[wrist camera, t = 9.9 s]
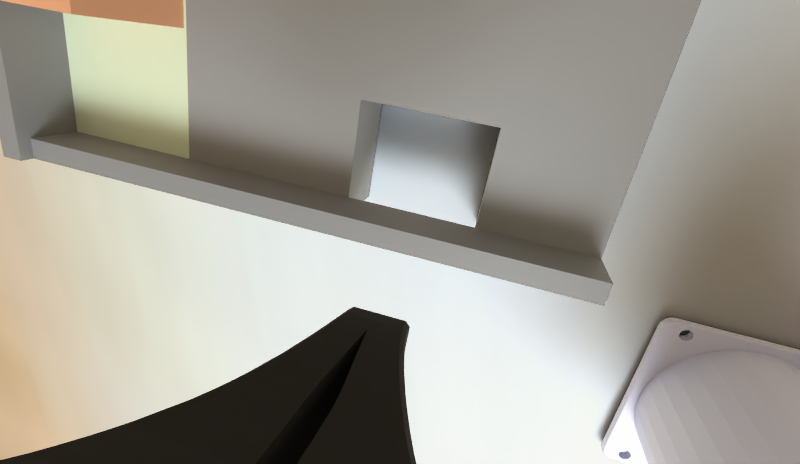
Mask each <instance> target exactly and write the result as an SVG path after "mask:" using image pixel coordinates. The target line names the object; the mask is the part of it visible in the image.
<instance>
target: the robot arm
mask: <svg viewBox="0 0 800 464" xmlns="http://www.w3.org/2000/svg"><path fill="white" fill-rule="evenodd" d="M409 328H410V327H409V326H408V324H407V322H406V321H403V320H399V319H396V318H392V317H388V316H385V315H381V314H378V313H374V312H371V311H367V310H364V309H360V308H356V307H353V308H351V309H349V310H347V311H346V312H344V313H343V314H342V315H340V316H339V317H337V318H336V319H334V320H333V321H331V322H330V323H329V324H327V325H326V326H324V327H323V328H321V329H320V330H318V331H317V332H315V333H314V334H312V335H311V336H309V337H308V338H306V339H304V340H303V341H301V342H300V343H298V344H296V345H295V346H293V347H292V348H290V349H289V350H287V351H285V352H284V353H282V354H280V355H278V356H277V357H275V358H273V359H271V360H270V361H268V362H266V363H264V364H262V365H261V366H259V367H257V368H255V369H254V370H252V371H250V372H248V373H246V374H244V375H242V376H240V377H238V378H236V379H234V380H232V381H230V382H228V383H226V384H224V385H222V386H220V387H218V388H216V389H214V390H211V391H209V392H207V393H205V394H202V395H200V396H198V397H196V398H193V399H191V400H188V401H186V402H183V403H181V404H178V405H175V406H173V407H170V408H167V409H165V410H162V411H159V412H157V413H154V414H152V415H149V416H146V417H144V418H141V419H138V420H136V421H133V422H130V423H127V424H124V425H121V426H118V427H115V428H112V429H109V430H106V431H103V432H100V433H97V434H94V435H90V436H87V437H84V438H80V439H77V440H74V441H70V442H67V443H64V444H60V445H57V446H53V447H50V448H46V449H43V450H39V451H35V452H32V453H28V454H24V455H20V456H16V457H12V458H8V459H4V460H0V464H416V461H415V456H414V451H413V446H412V441H411V435H410V429H409V421H408V414H407V406H406V396H405V380H404V351H405V347H406V342H407V337H408V332H409ZM684 330H690V332H689V333H688V334H687V335H684V336H681V335H679V334H680V333H681V332H682V331H684ZM601 447H602V451H603V453H604V454H605V455H606V456H607V457H609V458H612V459H615V460H618V461H621V462H624V463H628V464H800V350H799V349H795V348H791V347H787V346H783V345H779V344H775V343H772V342H768V341H764V340H760V339H756V338H752V337H748V336H744V335H740V334H736V333H733V332H729V331H725V330H721V329H717V328H713V327H709V326H705V325H701V324H697V323H694V322H690V321H686V320H682V319H678V318H671V317H670V318H665V319H664V320H662V321H661V322H660V323H659V324H658V326H657V328H656V331H655V333H654V335H653V337H652V339H651V341H650V343H649V345H648V347H647V349H646V351H645V354H644V356H643V358H642V360H641V362H640V364H639V366H638V368H637V370H636V372H635V374H634V376H633V379H632V381H631V383H630V385H629V387H628V389H627V391H626V393H625V395H624V397H623V399H622V401H621V404H620V406H619V408H618V410H617V412H616V414H615V416H614V418H613V420H612V422H611V424H610V427H609V429H608V431H607V433H606V435H605V437H604V439H603V441H602V444H601ZM621 451H627V452H621Z"/></svg>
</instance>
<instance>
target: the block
mask: <svg viewBox="0 0 800 464" xmlns="http://www.w3.org/2000/svg"><path fill="white" fill-rule="evenodd" d="M0 1H6V2H11V3H16V4H21V5H26V6H31V7H37V8H42V9H47V10H52V11H57V12H62V13H68V14H74V15H82V16H90V17H98V18H106V19H113V20H121V21H129V22H137V23H145V24H153V25H161V26H169V27H177V28H184V5H183V0H0Z"/></svg>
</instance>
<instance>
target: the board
mask: <svg viewBox="0 0 800 464" xmlns="http://www.w3.org/2000/svg"><path fill="white" fill-rule="evenodd" d="M700 2H701V0H183V5H184V28H177V27H169V26H161V25H153V24H145V23H137V22H129V21H121V20H113V19H106V18H98V17H90V16H82V15H74V14H68V13H62V12H57V11H52V10H47V9H42V8H37V7H31V6H26V5H21V4H16V3H11V2H6V1H0V138H1V143H2V149H3V154H4V156H5V157H9V158H12V159H16V160H20V161H22V160H27V159H33V158H35V159H38V160H42V161H46V162H50V163H54V164H58V165H62V166H66V167H69V168H73V169H77V170H81V171H85V172H89V173H93V174H97V175H100V176H104V177H108V178H112V179H116V180H120V181H124V182H128V183H131V184H135V185H139V186H143V187H147V188H151V189H155V190H158V191H162V192H166V193H170V194H174V195H178V196H182V197H186V198H189V199H193V200H197V201H201V202H205V203H209V204H213V205H217V206H220V207H224V208H228V209H232V210H236V211H240V212H244V213H247V214H251V215H255V216H259V217H263V218H267V219H271V220H275V221H278V222H282V223H286V224H290V225H294V226H298V227H302V228H306V229H309V230H313V231H317V232H321V233H325V234H329V235H333V236H337V237H340V238H344V239H348V240H352V241H356V242H360V243H364V244H367V245H371V246H375V247H379V248H383V249H387V250H391V251H395V252H398V253H402V254H406V255H410V256H414V257H418V258H422V259H426V260H429V261H433V262H437V263H441V264H445V265H449V266H453V267H456V268H460V269H464V270H468V271H472V272H476V273H480V274H484V275H487V276H491V277H495V278H499V279H503V280H507V281H511V282H515V283H518V284H522V285H526V286H530V287H534V288H538V289H542V290H546V291H549V292H553V293H557V294H561V295H565V296H569V297H573V298H576V299H580V300H584V301H588V302H592V303H596V304H600V305H605V302H606V300H607V297H608V295H609V293H610V290H611V288H612V285H613V283H612V281H611V279H610V277H609V275H608V273H607V270H606V268H605V266H604V264H603V262H602V260H601V257H602V254H603V251H604V249H605V246H606V244H607V241H608V239H609V236H610V233H611V231H612V228H613V226H614V223H615V221H616V218H617V215H618V213H619V210H620V208H621V205H622V203H623V200H624V198H625V195H626V192H627V190H628V187H629V185H630V182H631V180H632V177H633V174H634V172H635V169H636V167H637V164H638V162H639V159H640V156H641V154H642V151H643V149H644V146H645V144H646V141H647V138H648V136H649V133H650V131H651V128H652V126H653V123H654V120H655V118H656V115H657V113H658V110H659V108H660V105H661V102H662V100H663V97H664V95H665V92H666V90H667V87H668V85H669V82H670V79H671V77H672V74H673V72H674V69H675V67H676V64H677V61H678V59H679V56H680V54H681V51H682V49H683V46H684V43H685V41H686V38H687V36H688V33H689V31H690V28H691V25H692V23H693V20H694V18H695V15H696V13H697V10H698V7H699V5H700ZM382 104H386V105H390V106H395V107H400V108H405V109H410V110H415V111H420V112H425V113H430V114H435V115H439V116H444V117H449V118H454V119H459V120H464V121H469V122H474V123H479V124H484V125H489V126H493V127H498V128H500V131H499V135H498V139H497V142H496V146H495V150H494V154H493V158H492V162H491V166H490V170H489V174H488V178H487V182H486V186H485V190H484V194H483V198H482V201H481V205H480V209H479V213H478V217H477V221H476V225H475V228H473V227H469V226H465V225H461V224H457V223H452V222H448V221H444V220H440V219H436V218H432V217H428V216H424V215H419V214H415V213H411V212H407V211H403V210H399V209H395V208H391V207H386V206H382V205H378V204H374V203H370V202H366V201H364V200H365V199H366V198H367V197H368V196H369V191H370V185H371V178H372V171H373V164H374V157H375V150H376V144H377V137H378V130H379V123H380V116H381V109H382Z"/></svg>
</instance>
